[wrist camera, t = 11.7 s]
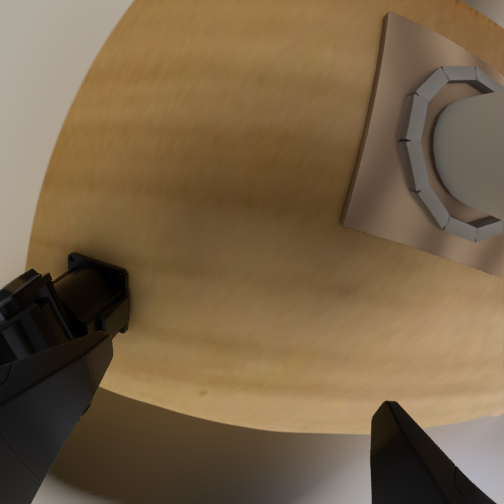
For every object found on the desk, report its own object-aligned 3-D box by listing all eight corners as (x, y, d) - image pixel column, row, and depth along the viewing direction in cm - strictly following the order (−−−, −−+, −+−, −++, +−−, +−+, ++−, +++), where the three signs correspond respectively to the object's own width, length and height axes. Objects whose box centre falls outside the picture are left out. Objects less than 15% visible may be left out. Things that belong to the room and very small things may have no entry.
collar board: (339, 221, 19) (347, 232, 16) (384, 17, 13) (395, 2, 11) (495, 273, 18) (511, 285, 16) (532, 108, 13) (550, 107, 10)
